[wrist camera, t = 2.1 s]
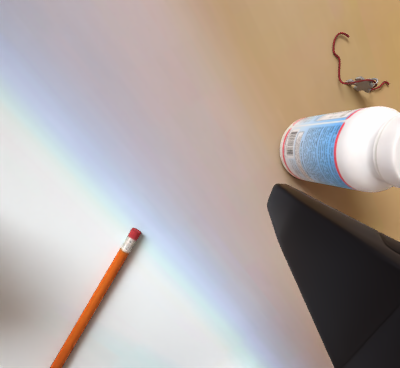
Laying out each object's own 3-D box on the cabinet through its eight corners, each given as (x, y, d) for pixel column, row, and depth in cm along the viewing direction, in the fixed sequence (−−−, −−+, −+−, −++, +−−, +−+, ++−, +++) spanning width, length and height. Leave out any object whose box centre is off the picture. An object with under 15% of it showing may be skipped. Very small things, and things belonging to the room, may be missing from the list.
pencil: (141, 231, 24) (141, 234, 23) (30, 418, 24) (27, 428, 23) (132, 226, 24) (132, 229, 23) (20, 415, 23) (16, 426, 23)
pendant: (317, 71, 26) (338, 63, 23) (337, 29, 26) (361, 17, 23) (374, 112, 28) (399, 108, 26) (393, 73, 28) (419, 66, 26)
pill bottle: (306, 191, 28) (422, 221, 17) (265, 154, 26) (364, 161, 15) (341, 143, 28) (476, 143, 17) (302, 103, 26) (426, 75, 15)
